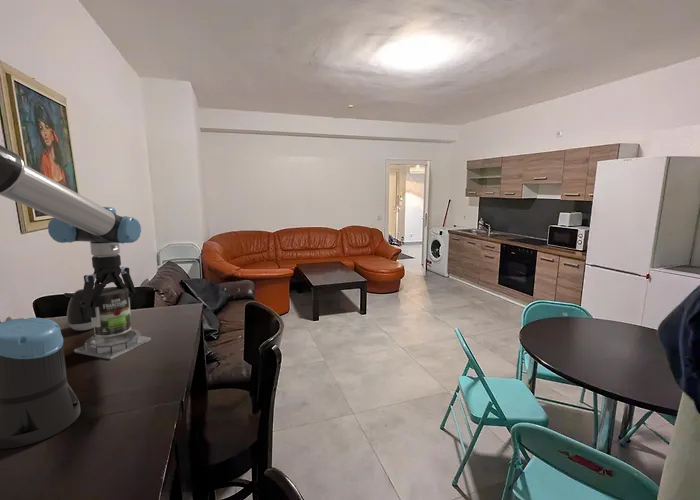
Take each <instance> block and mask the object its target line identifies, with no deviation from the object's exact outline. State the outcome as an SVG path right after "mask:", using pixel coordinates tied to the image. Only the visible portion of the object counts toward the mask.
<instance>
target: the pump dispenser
mask: <svg viewBox="0 0 700 500" xmlns="http://www.w3.org/2000/svg"><path fill="white" fill-rule="evenodd" d="M82 294H83V288H82V289H78V290H76V291H74V293H70V292H69V293H67V292H63V296H65V297H68V298H70V300H69V301H68V306H67V311H66V323H68V325H69V327H70V328H71V329H72V330H74V331H78V332H79V331H80V332H84V331H88V330H91V329H94V326H92V321H91V318H90V317H89V314H88V308H86V307H81V306H80V304H81V299H82Z"/></svg>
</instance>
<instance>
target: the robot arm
mask: <svg viewBox="0 0 700 500" xmlns="http://www.w3.org/2000/svg"><path fill="white" fill-rule="evenodd" d="M0 196H2V197H4V198H7V199H9V200H12V201H14V202H16V203H18V204H20V205H23V206H26V207H28V208H30V209H33V210H35V211H38V212H40V213H41V214H45V215H47V216H49V217H51V219H50V220H49V221H48V224H47V230H48V231H47V232H48V234H49V236H50V238H52V239H53V241H55V242H56V243H57V242H58V243H61V244H65V243H70V244H71V243H73V242H85V243H86V242H88V243H90V254H91V255H92V257H91V263H92V268H93V273H92V274H89V275H88V274H85V275H84V276H83V282H84V284H83V288H82V289H83V294H82V299H81V304H80V306H81V307H86V308H88V314H89V317H90V318H91V321H92V326H94V327H101V323H100V313H99V307H96V305H97V303H98V297H97V296H98V295H101V293H102V291H103V288H107V287H106V286H107V285H110V284H111V283H113V284H114V285H115V287H117V288H122V289H124V288H128V298H129V310H130V316H131V315H132V314H131V305H132V297H134V294H136V293H137V289H136V288H135V283H134V282H133V279H132V276H131V274H130V273H131V272H130V268H129V267H128V266H127V267H125V266H121V265H122V262H121V261H122V260H121V255H120V253H121V250H120V249H121V248H120V244H122V245H123V244H133V243H135V242H137V241H138V240H139V238H140V237H141V233H142V225H141V223H140V222H139V220H138V219H137V218H135V217H132V216H128V215H127V216H125V215H124V216H121V215H118V214H117V209H115V207H114V206H113V207H112V206H101V205H100V204H97V203H96V202H94V201H92V200H91V199H88V198H86V197H85V196H83V195H82V194H79V193H78V192H76V191H75V190H74V191H73V190H72V189H70V188H69V187H66V186H64V185H63V184H62V183H59V182H58V181H56V180H54V179H52V178H50V177H48V176H47V175H45V174H42V173H41V172H40V171H37V170H35V169H33V168H32V167H30V166H28V165H27V164H25V163H24V160H23V159H22V157H21V156H20V155H19V154H17V153H15V152H13V151H11V150H10V149H8V148H6V147H4V146H3V145H1V144H0ZM120 275H121V276H120ZM64 345H65V344H64V337H63V335H62V331H61V327H60V325H59V324H58V322H56V321H55V320H52V319H48V318H42V317H28V318H23V317H22V318H21V317H20V318H12V319H9V320H5V321H1V320H0V449H3V450H5V449H15V448H22V447H25V446H29V445H32V444H35V443H39V442H42V441H43V440H47V439H48V438H51V437H53V436H55V435H58V434H59V433H60V432H63V431H64V430H65V429H66V428H68V427H70V426H71V425H72V424H73V423H75V422H76V421H77V419H78V418H79V416H80V414H81V405H80V404H81V403H80V401H79V399H78V397H77V395H76V393H74V391H73V389H72V387H71V386H70V385H69V383H68V377H67V366H66V357H65V356H66V355H65V347H64Z"/></svg>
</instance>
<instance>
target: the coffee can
mask: <svg viewBox="0 0 700 500" xmlns="http://www.w3.org/2000/svg"><path fill="white" fill-rule="evenodd" d="M97 297H98V303H97V305H96V307H99V313H100V323H101V327H94V328H93V330H94V331H93V332H94V335H93V336H97V337H113V336H118V335H121V334H124V333H126V332H128V331H130V330H131V329H132V322H131V315H130V311H131V309H130V310H129V298H128V288H124V289H122V288H117V286H111V287H110V286H109V287H104V288H103V291H102V293H101V295H98V296H97Z"/></svg>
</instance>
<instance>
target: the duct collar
mask: <svg viewBox="0 0 700 500" xmlns="http://www.w3.org/2000/svg"><path fill="white" fill-rule="evenodd" d="M151 338H152V337H150V336H143V335H142V333H141V331H139V329H134V328H131V330H130V331H128V332H126V333H124V334H121V335H118V336H113V337H97V336H95V335H92V336H91V337H89V338H87V340H85V341H84V345H82V346H80V347H77V348H75V349H74V353H75V354H81V355H85V356H91V357H94V358H95V357H96V358H99V359H100V358H102V359H105V360H113V359H115V358H116V357H119V356H121V355H124V354H125V353H128V352H130V351H131V350H134V349H135V348H138V347H139V346H142V345H143V344H146V343H148V342H150V341H152V339H151Z"/></svg>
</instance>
